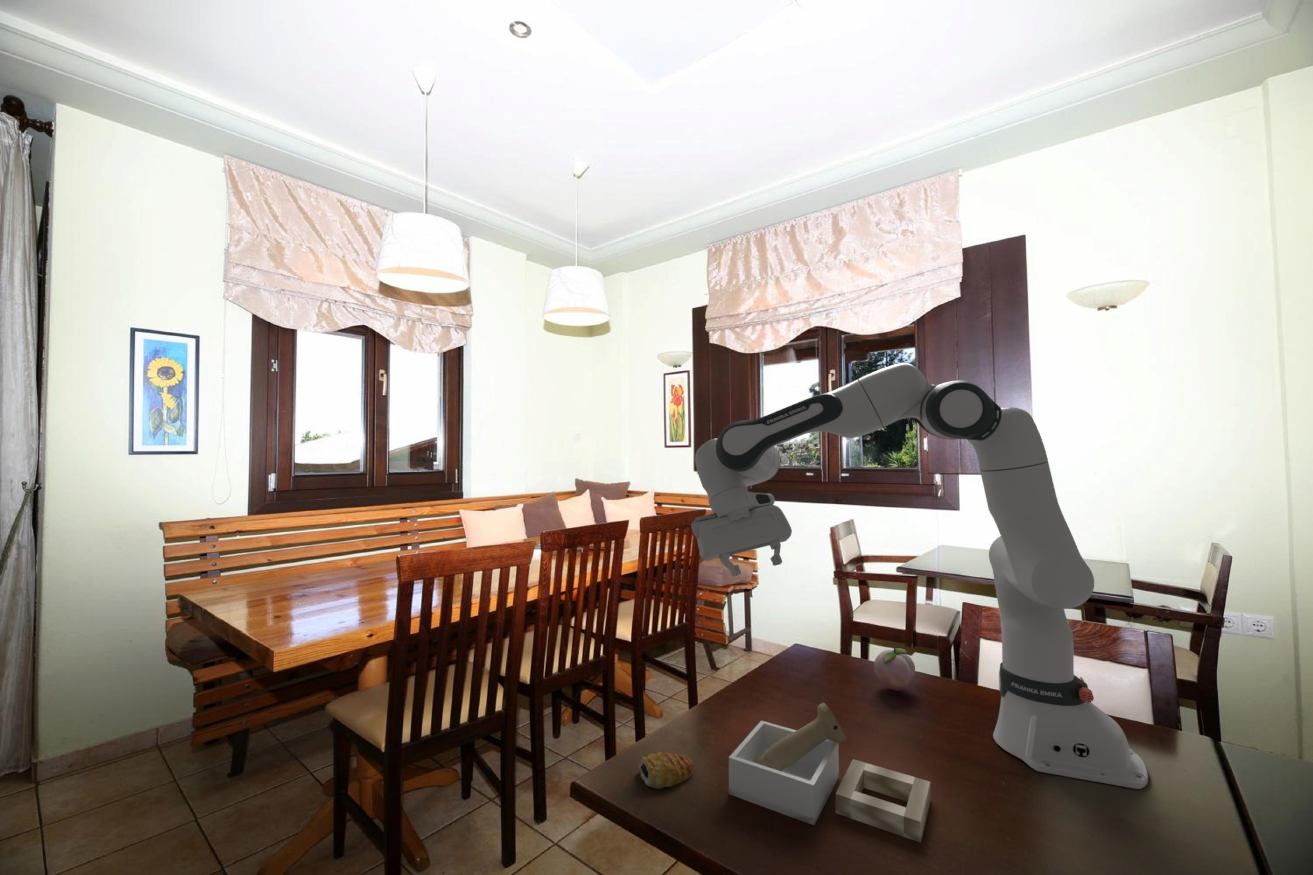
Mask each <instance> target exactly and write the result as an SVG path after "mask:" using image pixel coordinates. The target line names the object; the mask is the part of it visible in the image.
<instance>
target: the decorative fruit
mask: <svg viewBox="0 0 1313 875" xmlns="http://www.w3.org/2000/svg"><path fill="white" fill-rule="evenodd" d="M873 669H874V672H875V676H876V677H877V678H878V680H879V681H880V682H881V683H882V684H883V685H884V686H885V687H887V688H888V689H890V690H892V691H894V692H897V691H901V690H903V689H904V688H906V687H907V686H908V685H909V684H910V683H911V682H912V681H913V678H914V675H915V672H916V666H915V663H914V660H913V659H912V658H911V656H910V655H908V651H907V650H906V649H904V648H900V647H898V648H897V647H896V646H893V649H888V650H887V649H885V650H883V651H882V652H880V653H879V654H877V656H876V657H875V659H874V663H873Z"/></svg>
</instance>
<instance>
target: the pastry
mask: <svg viewBox="0 0 1313 875" xmlns="http://www.w3.org/2000/svg"><path fill="white" fill-rule="evenodd" d="M638 770H639V772H640V777H641V779H642V780H643V781H644V783H645V785H646V786H647V787H649V788H652V789H654V790H661V789H662V790H663V788H665V787H668V788H671V787H674V786H675V785H678V784H679V785H680V784H681V783H682V782H684V781H688V780H689V779H690V777H692V776H693V775H694V773H695V765H694V763H693V760H692V758H691V757H689V756H687V755H685V754H678V753H672V752H666V753H665V752H662V751H657V753H651V752H650V753H649V754H648V755H647V756H642V757H641V760H640V761H639V764H638Z"/></svg>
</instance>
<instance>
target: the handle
mask: <svg viewBox="0 0 1313 875" xmlns="http://www.w3.org/2000/svg"><path fill="white" fill-rule="evenodd" d="M816 709H817V710H816V711H817V717H816V718H815V719H814V720H812V721H811V722H810V723H807V724H806V725H804V726H802V727H800V728H799V729H797V731H795V732H793V733H791V734H789V735H788V736H786V737H784V738H783V739H781V740H780V741H778V742H777V743H775V744H774V745H772V746H771V747H770V748H768V749H767V750H766V751H765V752H764V753H765V754H764V755H762V754H761V755H760V756H758V757H757V759H756V761H757V763H758V764H760V765H763V766H766V767H769V768H772V769H775V770H778V771H782V770H783V769H785V768H786V767H789V766H790V765H792V764H793V763H795V762H796V761H798V760H799V759H801V758H802V757H803V756H805V755H806V754H807V753H809V752H810V751H811V750H812V749H814V748H815V747H816V746H818V745H819V744H821V743H822V742H823V741H825V740H827V739H831V740H833V741H836V742H838V743H842V742H845V740H847V737H846V734H845V733H844V732H845V731H843V728H842V727H841V725H840V723H839V721H838V719H837V718H836V716H835V715H834V713H833V712H832V710H831V709H830V708H829V706H828V705H827V704H826V703H825V702H821V703H820V704H818V705H817V708H816Z"/></svg>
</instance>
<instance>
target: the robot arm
mask: <svg viewBox="0 0 1313 875" xmlns="http://www.w3.org/2000/svg"><path fill="white" fill-rule="evenodd" d="M908 418H912V419H913V420H914V421H915V422H916V423H917V424H918V426H920V427H921V428H922V429H923V430H924V431H925V432H926V433H928V434H930V435H932V436H934V437H936V438H939V439H943V440H950V441H952V440H967V441H968V442H969V443H970V444H971V445H972V447H973V448H974V451H975V453H976V455H977V460H978V461H977V462H978V467H979V470H980V471H979V473H980V476H981V480H982V485H983V486H982V487H983V490H984V494H985V499H986V503H987V507H988V511H989V513H990V515H991V517H992V519H993V520H994V523H995V525H996V527H997V530H998V532H999V535H1000V536H999V537H996V539H995V540H994V541H993V542H992V543H991V545H990V547H989V550H988V559H989V563H990V565H991V568H992V573H993V574H992V575H993V580H994V581H993V582H994V588H995V594H996V599H997V600H996V601H997V604H998V610H999V615H1000V622H1001V624H1000V625H1001V653H1002V654H1001V656H1002V658H1001V663H1000V664H999V670H998V685H999V692H1000V695H1001V696H1000V697H1001V698H1000V706H999V712H998V718H997V722H996V725H995V728H994V731H993V733H992V738H993V739H994V741H995V743H996V744H998V746H1000V747H1001V748H1002V749H1003V750H1004V751H1006V752H1007V753H1009V754H1011V755H1013V756H1015V757H1017V758H1018V759H1020V760H1021V761H1023V762H1024V763H1026V764H1027V765H1028V766H1029V767H1030V768H1031V769H1033V770H1035V771H1036V772H1040V773H1044V774H1046V773H1047V774H1052V775H1055V776H1056V775H1057V776H1061V777H1062V776H1063V777H1067V778H1073V779H1080V780H1085V781H1090V782H1096V783H1100V784H1101V783H1103V784H1108V785H1113V786H1119V787H1125V788H1128V789H1129V788H1130V789H1136V790H1141V789H1143V788H1145V787H1146V786H1147V785H1148V783H1149V774H1148V769H1147V766H1146V764H1145V763H1144V761H1143V759H1142V758H1141V757H1140V756H1139V755H1138V754H1137V752H1135V751H1134V750H1132V749H1131V748H1130V746H1129V742H1128V739H1127V737H1126V734H1125V732H1124V730H1123V729H1122V728H1121V726H1120V725H1119V724H1118V723H1117V721H1116V720H1114V718H1112V717H1110V716H1109V715H1108V714H1107V713H1105V712H1104V711H1103V710H1101V709H1100V708H1099V707H1098V706H1097V705H1096V704H1094V703H1093V701H1094V699H1095V697H1094V694H1093V691H1092V690H1091V689H1090V688H1089V685H1088V684H1087V682H1085V680H1084V678H1083V677H1082V676H1080V678H1079V677H1078V676H1077V675H1075V674H1074V673H1075V672H1074V671H1075V670H1074V666H1075V664H1074V662H1075V660H1074V659H1075V658H1074V634H1073V633H1074V632H1073V631H1072V628H1071V626H1070V624H1069V621H1068V619H1067V616H1066V613H1065V610H1070V609H1074V608H1077V607H1079V606H1082V605H1083V604H1084V603H1086V602H1087V601H1088V600H1089V599H1090V598H1091V596H1092V594H1093V592H1094V589H1095V577H1094V575H1093V572H1092V570H1091V568H1090V567H1089V566H1088V564H1087V563H1086V561H1085V560H1084V558H1083V557H1082V555H1081V553H1080V550H1079V549H1078V545H1077V543H1076V541H1075V539H1074V536H1073V533H1072V532H1071V529H1070V527H1069V524H1068V523H1067V520H1066V519H1065V517H1064V514H1063V512H1062V509H1061V506H1060V504H1059V501H1058V497H1057V493H1056V488H1055V486H1054V480H1053V476H1052V472H1051V467H1050V463H1049V459H1048V456H1047V450H1046V448H1045V445H1044V442H1043V439H1042V436H1041V433H1040V431H1039V428H1038V427H1037V424H1036V421H1034V419H1033V417H1032V415H1031V414H1030V412H1028V411H1026V410H1024V409H1022V408H1019V407H1014V406H1013V407H1011V406H1005V407H1001V406H1000V405H998V404H997V403H996V401H994V400H993V399H992V398H991V397H990V396H989V394H987V392H986V391H984V389H982V388H981V387H980V386H978V385H977V384H975V383H972V382H970V381H967V380H959V379H958V380H957V379H956V380H949V381H947V382H942V383H940V384H932V383H930V382H929V381H928V380H926V377H925V375H924V374H923V373H922V371H921V370H920V369H918V368H917V366H914V365H913V364H911V363H907V362H900V363H896V364H894V365H889V366H886V367H883V368H881V369H878V370H876V371H873V372H870V373H868V374H865V375H863V376H862V377H860V378H859V377H858V378H857V379H855V380H853V381H851V382H848V383H846V384H844V385H843V386H840V387H838V388H836V389H833V390H831V391H829V392H825V393H821V394H818V395H815V396H812V397H809V398H806V399H803V400H801V401H798V402H796V403H794V404H791V405H788V406H785V407H784V408H781V409H778V410H776V411H774V412H772V413H768V414H767V415H764V416H761V417H757V418H754V419H745V420H744V419H743V420H737V421H734V422H731V423H729V424H728V425H726V426H725V427H724V428H723V429H722V430H721V431H720V433H719V434H718V436H717V438H712V439H709V440H707V441H705V442H704V443H703V444H701V446H699V448H698V449H697V450H696V453H695V454H694V455H695V456H694V461H695V462H694V464H695V468H696V470H697V471H696V472H697V475H698V479H699V480H700V483H701V486H702V488H703V489H704V491H705V492H706V494H707V502H708V504H709V507H710V510H711V511H712V513H709V514H706V515H703V516H697V517H695V519H694V520H693V521H691V524H690V525H691V531H692V533H693V535H694V536H695V537H696V543H697V547H698V550H699V554H700V557H701V559H702V560H704V561H705V562H710V561H713V560H714V561H715V560H718V559H719V560H720V563H721V565H723V566H724V567H725V568H727V569H728V570H729V572H730V574H731V577H733V578H734V577H738V576H740V575H741V574H742V572H741V569H740V566H739V564H737V565H735V564H734V563H733V562H732V561H731V560H730V558H731V556H733V555H737V554H741V553H745V552H749V551H753V550H756V549H760V548H765V547H770V549H771V550H772V551H773V555H772V556H771V557H769V558H770V562H771V563H772V566H774V567H776V566H780V565H782V563H783V560H782V557H781V555H780V554H781V547H782V546H781V545H782V544H781V543H783V542H784V543H785V542H787V541H788V540H789V539H790V537H791V536H792V531H793V529H792V527H791V524H790V522H789V521H788V518H787V517H786V515H785V513H784V512H783V510H782V509H781V508H780V507H779V506H778V505H775V503H776V500H775V496H774V495H773V494H771V493H762V492H753V491H748V487H751V486H756V485H758V484H762V483H765V482H767V481H770V480H771V479H772V478H774V477H775V476H776V475H777V473H778V471H779V470H780V467H781V460H782V459H781V454H780V452H779V451H778V449H777V448H776V446H779V445H781V444H784V443H786V442H788V441H791V440H794V439H796V438H798V437H802V436H803V435H806V434H809V433H814V432H815V433H817V432H821V433H829V434H833V435H837V436H839V437H841V438H846V439H855V438H858V437H863V436H865V435H868V434H872V433H874V432H876V431H878V430H881V429H883V428H885V427H887V426H889V425H891V424H893V423H895V422H899V421H901V420H902V419H908Z"/></svg>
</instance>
